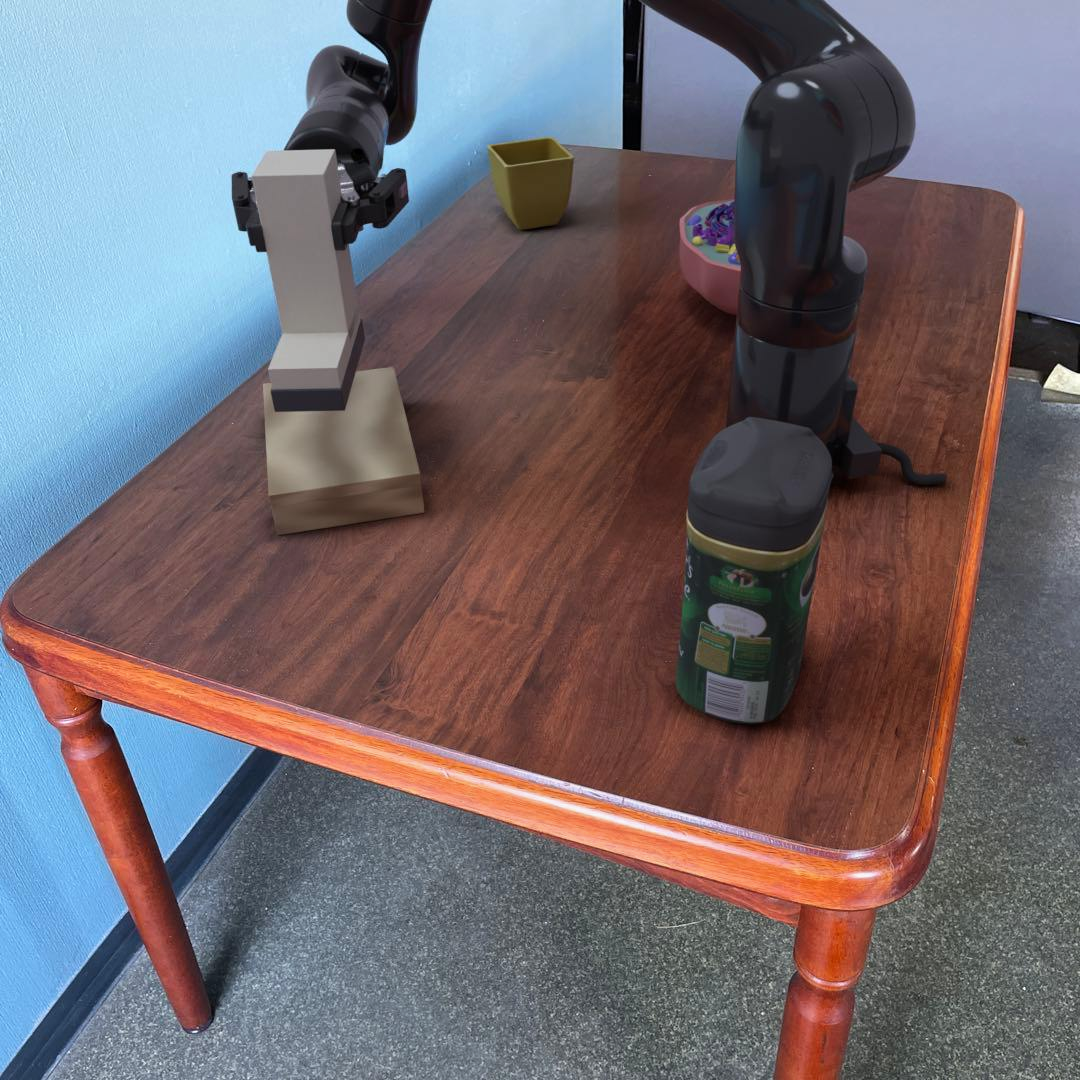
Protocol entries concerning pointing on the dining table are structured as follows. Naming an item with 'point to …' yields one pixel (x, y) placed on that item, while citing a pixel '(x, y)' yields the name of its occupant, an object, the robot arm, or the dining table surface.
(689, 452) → the dining table surface
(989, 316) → the dining table surface
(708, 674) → the coffee jar
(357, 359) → the boot
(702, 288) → the cell model
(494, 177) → the flower pot
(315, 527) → the tan flat block
